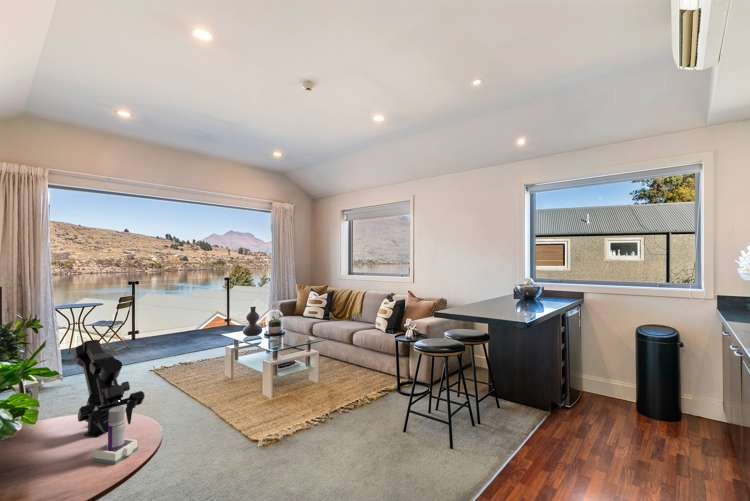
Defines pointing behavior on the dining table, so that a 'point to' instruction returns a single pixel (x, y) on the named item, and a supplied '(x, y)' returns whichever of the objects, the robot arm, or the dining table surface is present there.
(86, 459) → the dining table surface
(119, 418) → the container
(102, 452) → the board
